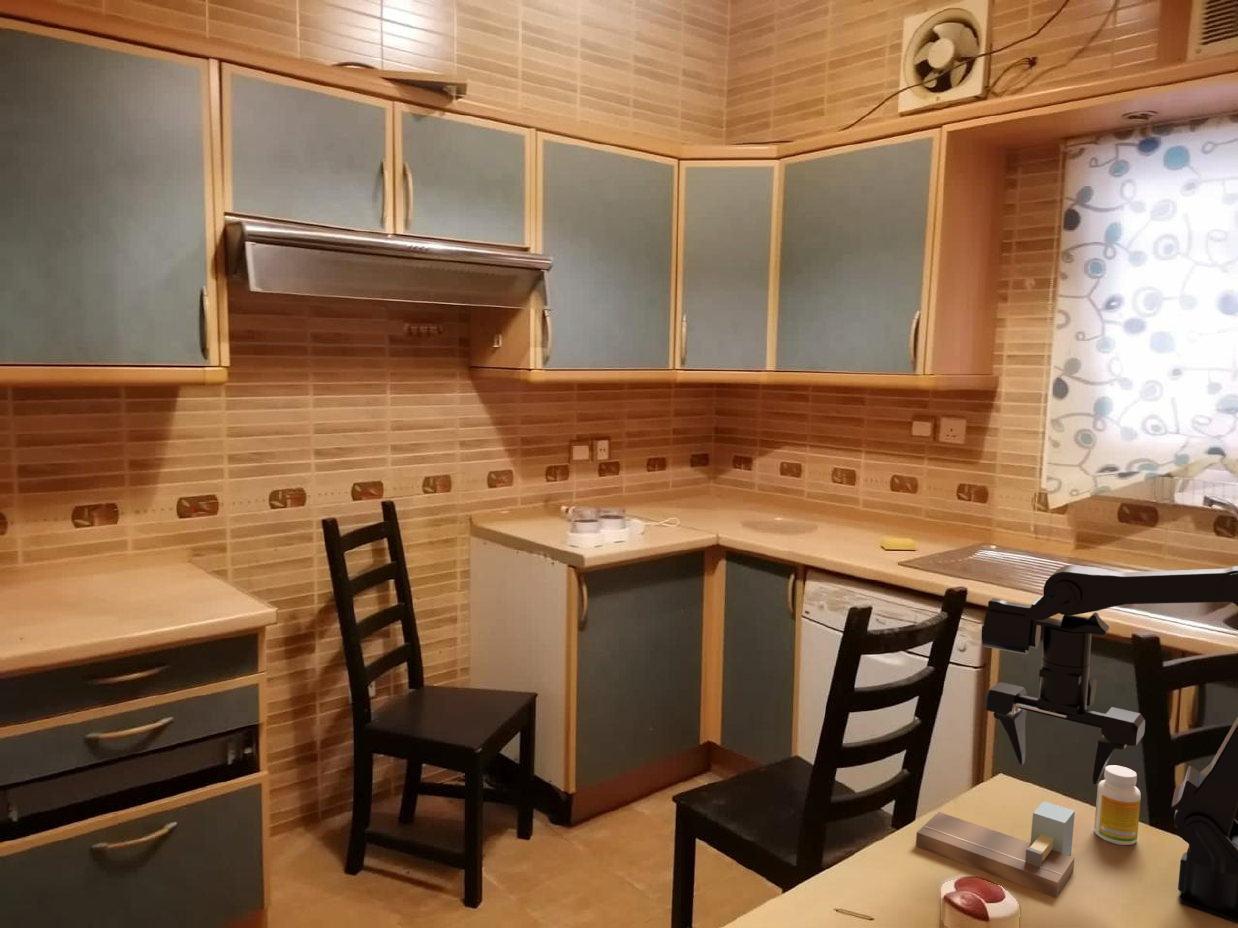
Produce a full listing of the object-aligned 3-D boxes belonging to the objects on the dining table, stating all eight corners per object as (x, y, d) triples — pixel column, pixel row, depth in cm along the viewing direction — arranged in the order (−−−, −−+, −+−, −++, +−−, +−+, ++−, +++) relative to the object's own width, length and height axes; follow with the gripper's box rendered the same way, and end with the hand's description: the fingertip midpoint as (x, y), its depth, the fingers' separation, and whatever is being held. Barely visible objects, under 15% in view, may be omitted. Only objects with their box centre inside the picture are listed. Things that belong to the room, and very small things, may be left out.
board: (1073, 871, 118) (1074, 856, 118) (1056, 897, 112) (1057, 881, 112) (937, 824, 130) (938, 811, 130) (915, 845, 124) (916, 831, 123)
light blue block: (1071, 852, 123) (1074, 810, 123) (1047, 884, 115) (1051, 839, 114) (1040, 842, 126) (1043, 800, 125) (1015, 872, 117) (1018, 828, 117)
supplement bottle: (1145, 846, 125) (1151, 779, 124) (1106, 845, 125) (1111, 778, 124) (1124, 827, 131) (1129, 763, 130) (1086, 826, 131) (1092, 761, 130)
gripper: (1157, 662, 120) (1148, 774, 122) (1011, 634, 132) (1005, 737, 134) (1140, 682, 112) (1130, 803, 113) (986, 651, 124) (979, 760, 125)
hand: (1057, 773), depth 121 cm, fingers open, 9 cm apart
